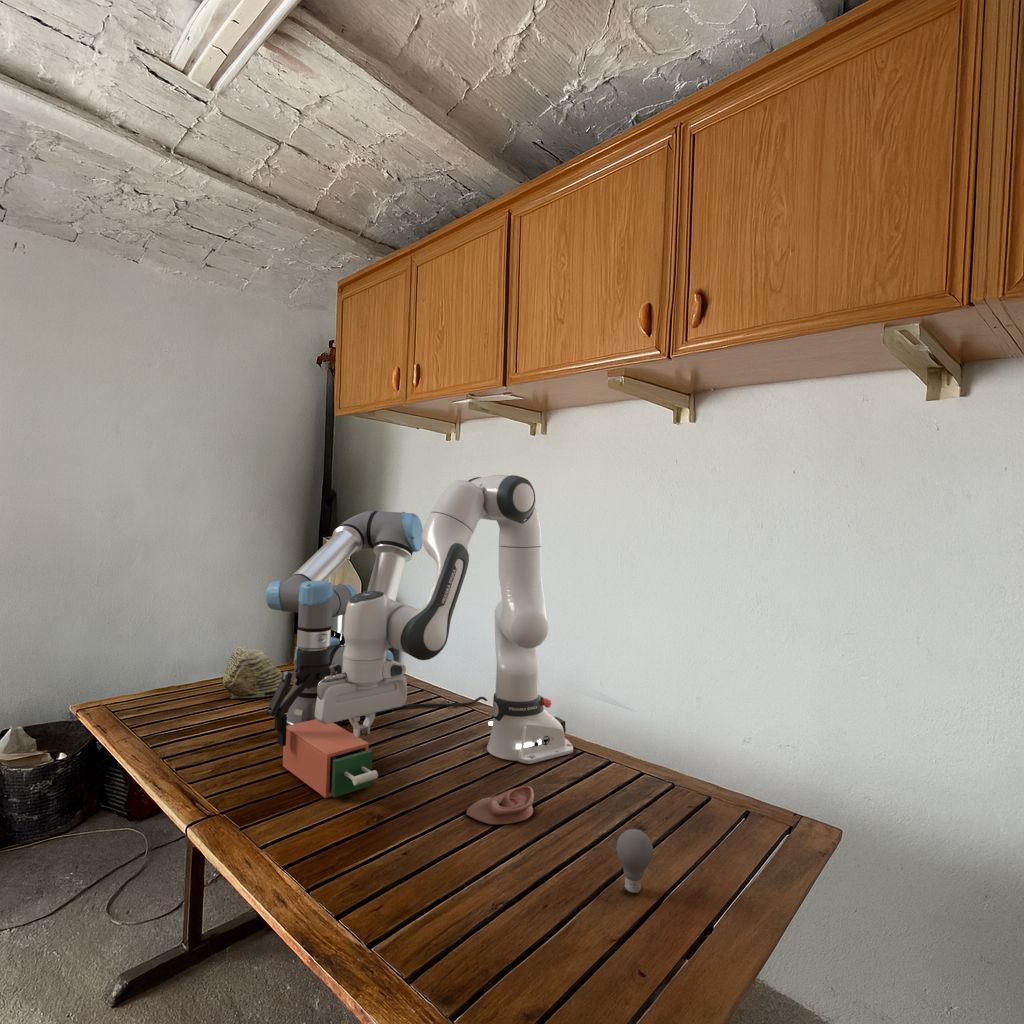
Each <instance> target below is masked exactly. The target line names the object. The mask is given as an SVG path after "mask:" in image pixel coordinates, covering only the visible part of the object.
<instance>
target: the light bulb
mask: <svg viewBox="0 0 1024 1024" xmlns="http://www.w3.org/2000/svg"><path fill="white" fill-rule="evenodd" d="M615 849H616V854H617V857H618V859H619V861H620V863H621V865H622V867H623V873H624V874H623V875H624V876H625V878H624V888H625V890H627V891H628V892H630V893H634V894H635V893H639V892H640V891H641V889H642V887H641V886H642V879H643V877H644V875H645V871H646V868H647V867H648V866H649V864H650V863H651V861H652V859H653V855H654V847H653V843H652V841H651V838H649V836H648V835H647V834H646V833H645V832H643V831H642V830H641V829H636V828H629V829H627V830H625V831H623V832H622V833H621V834H620V835H619V837H618V839H617V841H616V847H615Z"/></svg>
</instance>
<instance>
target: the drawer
mask: <svg viewBox="0 0 1024 1024" xmlns="http://www.w3.org/2000/svg"><path fill="white" fill-rule="evenodd" d="M378 778H379V773H378V771H377V770H376V769H374V770H373V751H372V750H371V749H369V750H367V751H363V749H358V750H355V751H351V752H348V753H344V754H340V755H337V756H333V757H331V761H330V786H329V789H330V790H332V796H331V797H332V798H337V797H338V798H339V797H340V796H343V795H346V794H350V793H353V792H355V791H359V790H361V789H362V790H363V789H365V788H368V787H372V781H375V780H377V779H378Z"/></svg>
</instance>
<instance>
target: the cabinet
mask: <svg viewBox="0 0 1024 1024" xmlns="http://www.w3.org/2000/svg"><path fill="white" fill-rule="evenodd" d="M369 748H370V743H369V742H368V741H366V740H364V739H363V738H360V736H359V737H356V736H354V734H353V733H352V732H350V731H348V730H347V729H345V728H344V727H341V725H340V726H338V725H336V724H334V723H329V724H323V723H321V722H320V721H318V720H317V719H315V720H310V721H306V722H302V723H297V724H293V725H288V726H287V730H286V746H282V767H283V768H285V769H286V770H287V771H288V772H290V773H291V774H292V775H294V776H295V777H296V778H298V779H299V780H300V781H302V782H303V783H304V784H306V785H307V786H309V787H310V788H311V789H313V790H314V791H315V792H317V793H318V794H319V795H321V796H322V797H323V798H324V799H327V798H331V797H333V796H332V790H330V789H329V786H330V761H331V757H333V756H337V755H340V754H344V753H348V752H351V751H355V750H358V749H363V751H367V750H370V749H369Z"/></svg>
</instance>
